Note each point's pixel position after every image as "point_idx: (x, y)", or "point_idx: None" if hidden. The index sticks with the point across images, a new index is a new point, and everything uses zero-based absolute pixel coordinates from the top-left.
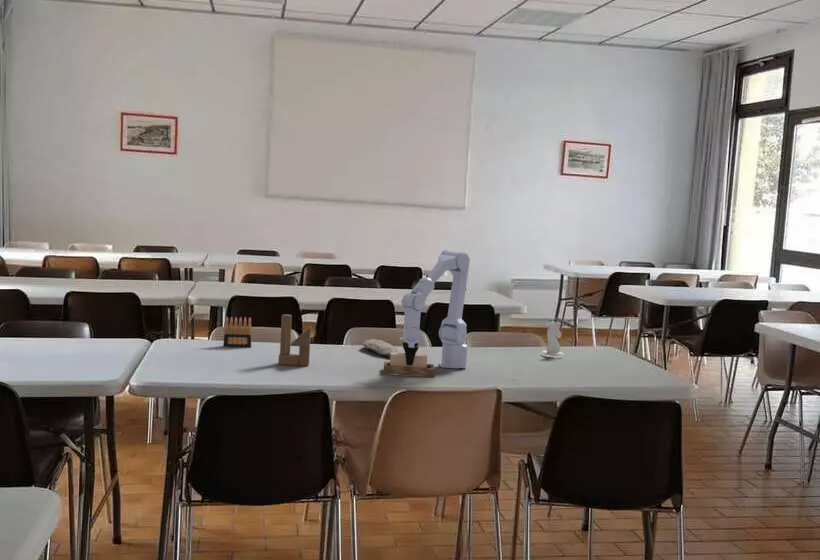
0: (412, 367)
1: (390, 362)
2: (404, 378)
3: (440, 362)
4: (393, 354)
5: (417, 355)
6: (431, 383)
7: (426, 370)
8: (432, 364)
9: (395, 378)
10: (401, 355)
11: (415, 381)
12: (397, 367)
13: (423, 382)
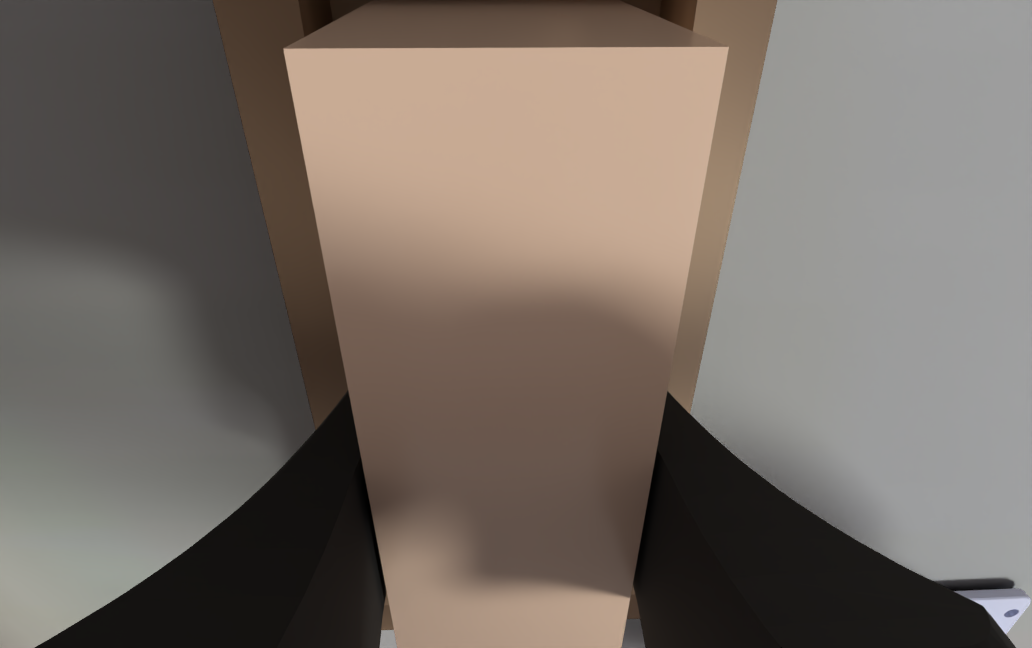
0: None
1: (343, 18)
2: (106, 249)
3: (1012, 603)
4: (327, 154)
5: (445, 642)
6: (35, 524)
7: None
8: (636, 611)
9: (8, 104)
10: (348, 379)
11: (12, 382)
12: (257, 179)
13: (25, 459)
